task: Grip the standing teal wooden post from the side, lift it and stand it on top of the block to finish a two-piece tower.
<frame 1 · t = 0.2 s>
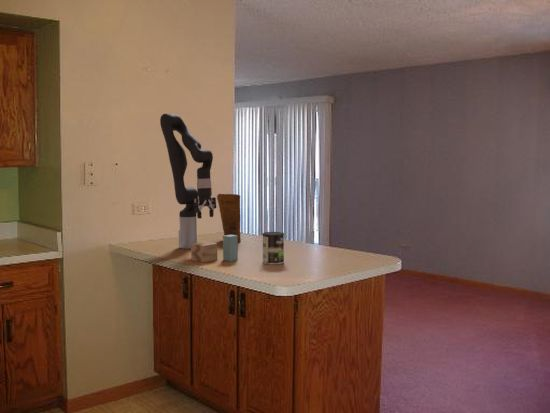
hand: (205, 217, 302), 18 cm above the worktop, fingers open, 8 cm apart
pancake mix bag: (230, 241, 337), on the worktop
coffee can: (273, 263, 270), on the worktop
block: (204, 259, 277), on the worktop
post: (230, 260, 276), on the worktop
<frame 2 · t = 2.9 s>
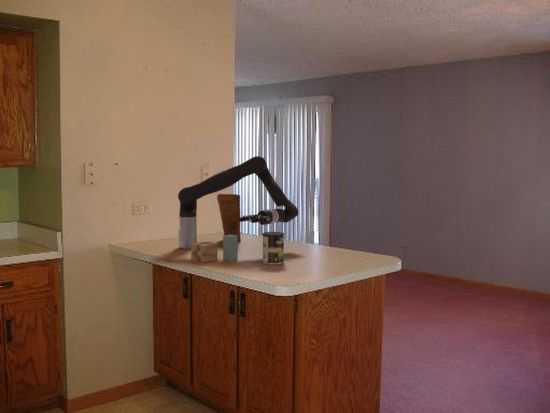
hand: (245, 220, 283), 18 cm above the worktop, fingers open, 8 cm apart
nothing on the worktop moved.
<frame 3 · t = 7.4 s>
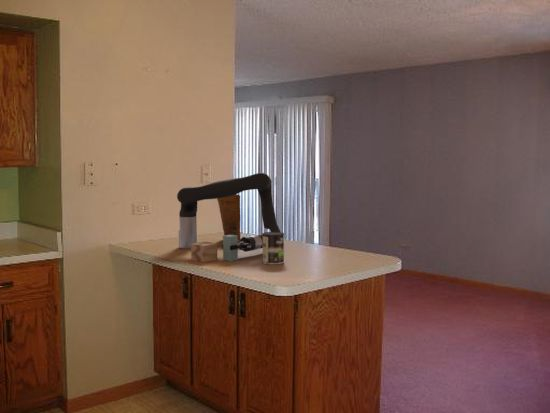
hand: (226, 247, 274), 7 cm above the worktop, fingers closed on post, 5 cm apart
post: (230, 260, 276), on the worktop, touching gripper
everything else where it was.
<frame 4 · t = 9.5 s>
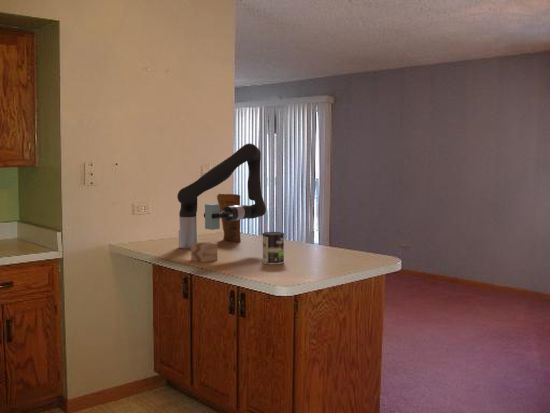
hand: (208, 215, 273), 22 cm above the worktop, fingers closed on post, 5 cm apart
post: (212, 228, 276), point 15 cm above the worktop, touching gripper
everything else where it was.
when the fingers open (15 cm above the worktop, at t = 11.8 s): post stays where it is, resting on block.
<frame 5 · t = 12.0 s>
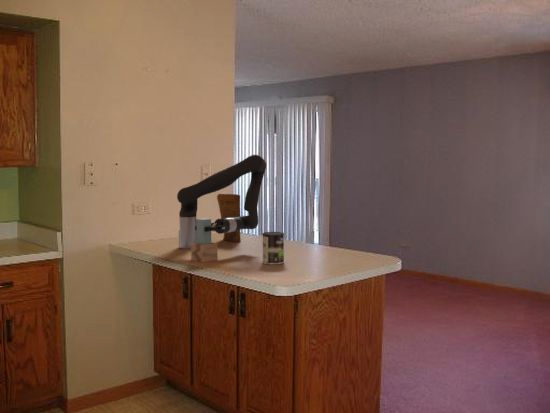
hand: (200, 228, 274), 15 cm above the worktop, fingers open, 6 cm apart
post: (204, 243, 276), point 8 cm above the worktop, touching block
everything else where it was.
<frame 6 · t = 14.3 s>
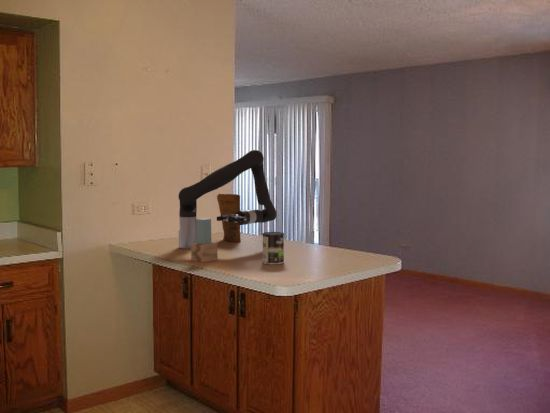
hand: (222, 219, 285), 19 cm above the worktop, fingers open, 8 cm apart
nothing on the worktop moved.
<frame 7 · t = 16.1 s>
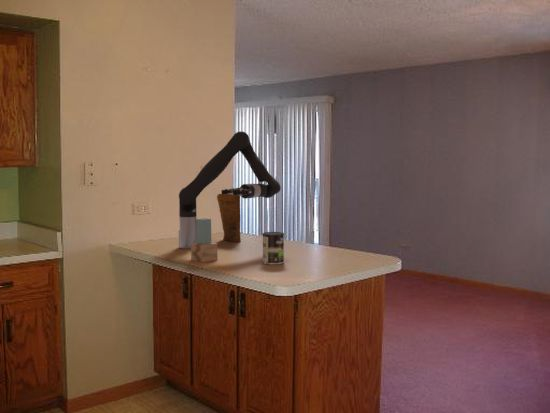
hand: (227, 192, 286), 32 cm above the worktop, fingers open, 8 cm apart
nothing on the worktop moved.
at the end: post inside the target area on the block (0.0 cm from its centre), point 8.0 cm above the block's base; post tilted 0°; the gripper is holding nothing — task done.
